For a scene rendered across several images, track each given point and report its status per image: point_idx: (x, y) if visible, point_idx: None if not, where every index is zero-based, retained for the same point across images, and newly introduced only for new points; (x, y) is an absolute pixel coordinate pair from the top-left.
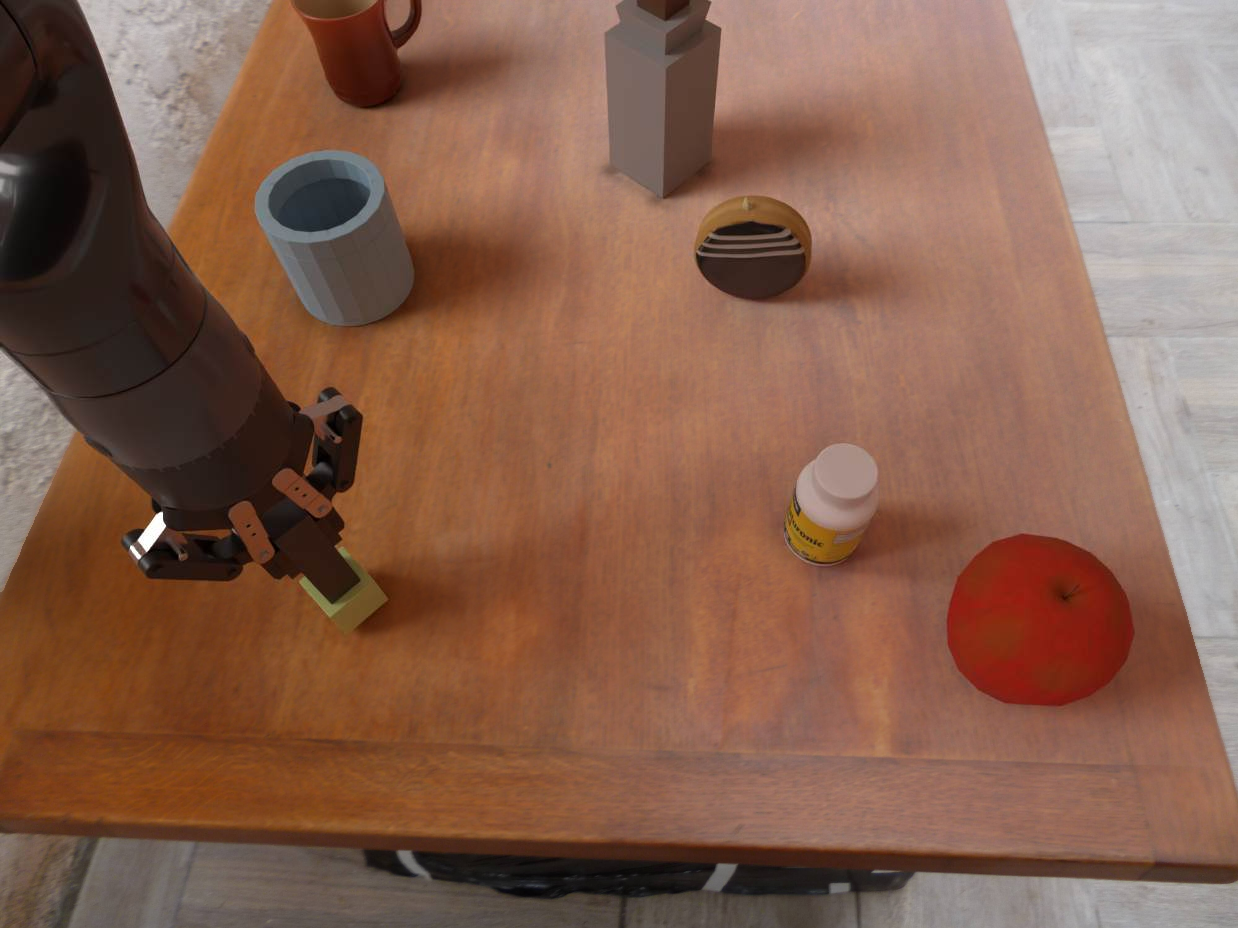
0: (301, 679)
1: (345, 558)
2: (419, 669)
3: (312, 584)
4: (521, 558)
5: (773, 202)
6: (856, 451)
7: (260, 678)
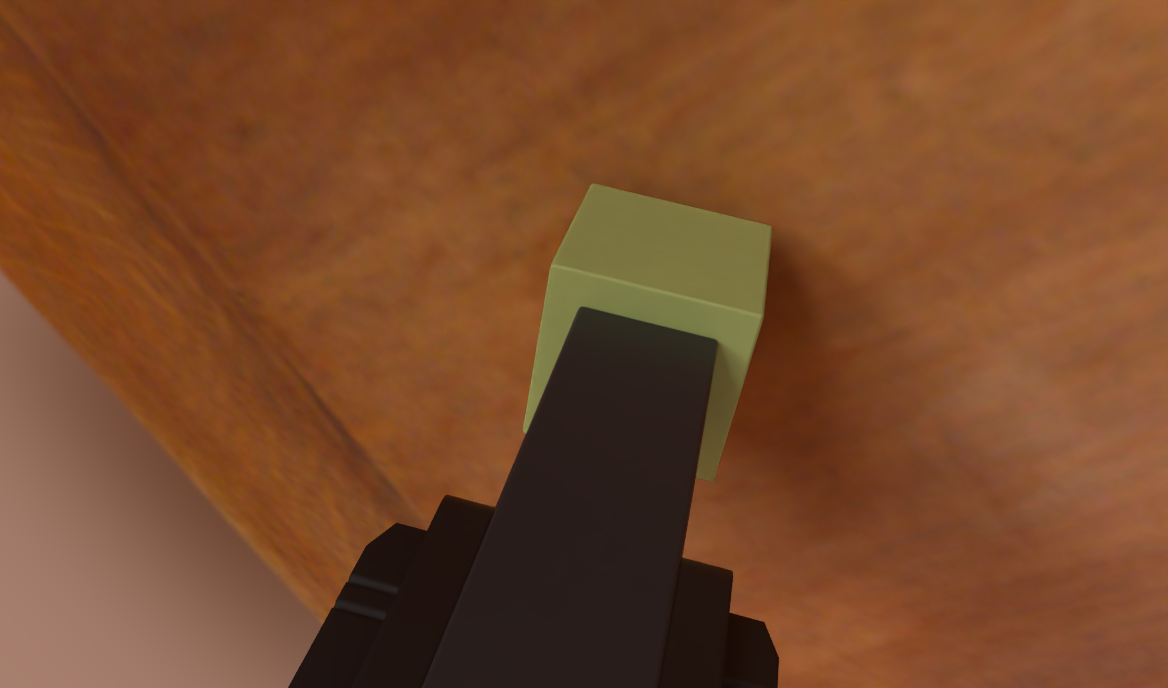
0: (394, 275)
1: (726, 355)
2: None
3: (573, 317)
4: (1057, 595)
5: None
6: None
7: (313, 170)
